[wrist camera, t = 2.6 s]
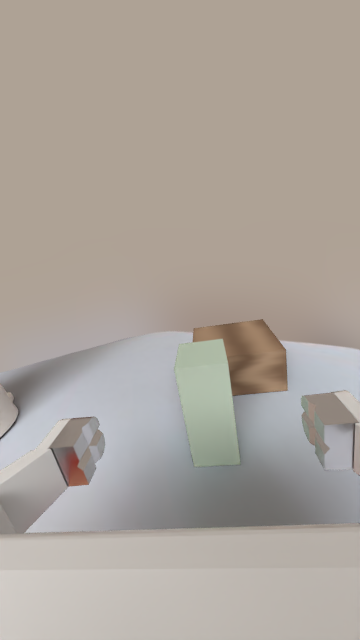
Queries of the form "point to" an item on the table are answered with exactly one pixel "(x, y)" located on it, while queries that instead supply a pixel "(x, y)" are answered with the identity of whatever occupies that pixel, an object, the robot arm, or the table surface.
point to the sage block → (207, 403)
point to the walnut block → (250, 356)
